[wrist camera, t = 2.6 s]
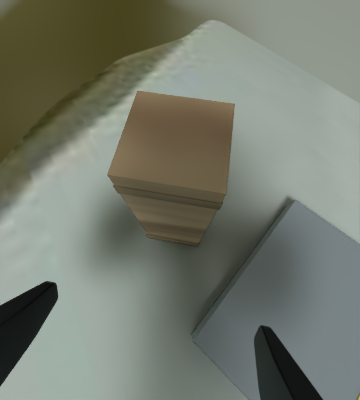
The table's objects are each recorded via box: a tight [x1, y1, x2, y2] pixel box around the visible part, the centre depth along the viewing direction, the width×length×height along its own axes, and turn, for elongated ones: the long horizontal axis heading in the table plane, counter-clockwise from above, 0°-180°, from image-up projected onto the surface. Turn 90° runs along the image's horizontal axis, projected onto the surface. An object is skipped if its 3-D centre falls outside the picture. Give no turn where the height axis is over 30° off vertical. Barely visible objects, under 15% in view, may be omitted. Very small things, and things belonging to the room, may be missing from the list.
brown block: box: [107, 91, 235, 247], centre depth 15 cm, size 5×5×13 cm
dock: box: [192, 200, 360, 400], centre depth 17 cm, size 16×12×2 cm
